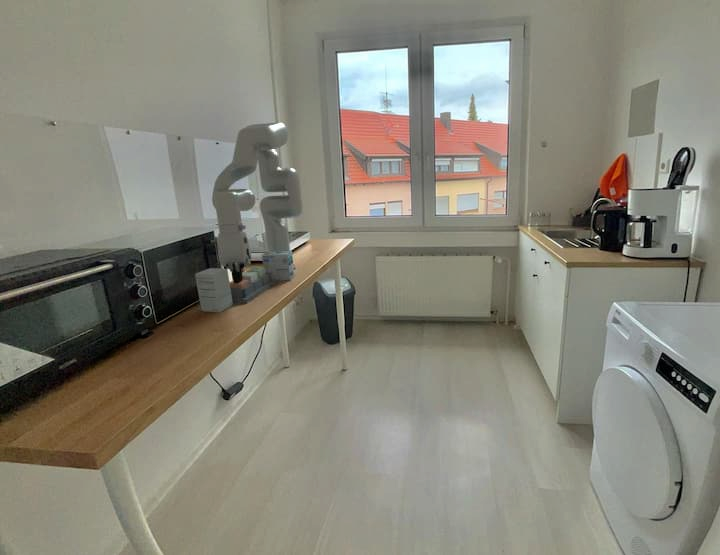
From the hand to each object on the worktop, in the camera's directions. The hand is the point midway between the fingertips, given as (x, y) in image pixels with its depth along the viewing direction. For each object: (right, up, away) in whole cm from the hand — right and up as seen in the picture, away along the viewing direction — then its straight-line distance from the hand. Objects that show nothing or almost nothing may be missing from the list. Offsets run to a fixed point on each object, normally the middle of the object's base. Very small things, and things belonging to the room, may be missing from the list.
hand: (238, 282), depth 146 cm
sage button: (+3, +1, +14) cm, 14 cm away
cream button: (+2, -1, +7) cm, 8 cm away
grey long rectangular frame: (+2, -4, +8) cm, 9 cm away
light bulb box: (+10, +1, +24) cm, 26 cm away
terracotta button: (0, -4, +1) cm, 4 cm away
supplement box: (-5, -9, -7) cm, 12 cm away
